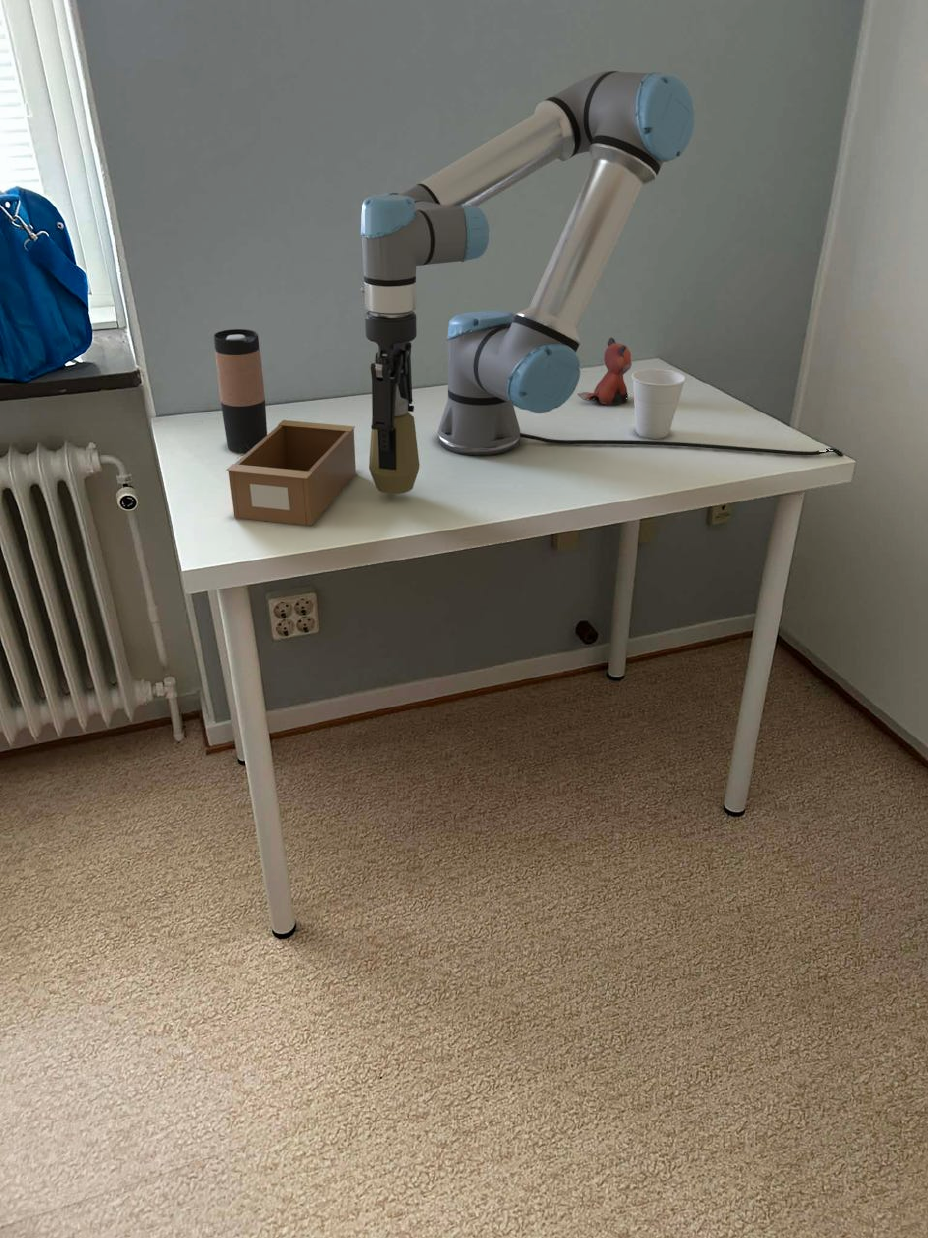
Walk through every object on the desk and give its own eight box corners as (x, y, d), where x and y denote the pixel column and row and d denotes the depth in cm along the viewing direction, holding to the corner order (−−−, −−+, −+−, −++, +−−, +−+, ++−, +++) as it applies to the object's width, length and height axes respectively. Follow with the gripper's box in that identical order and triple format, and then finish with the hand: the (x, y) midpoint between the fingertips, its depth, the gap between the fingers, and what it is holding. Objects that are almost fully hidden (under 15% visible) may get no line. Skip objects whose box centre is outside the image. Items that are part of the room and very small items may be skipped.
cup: (620, 438, 179) (625, 380, 174) (632, 421, 187) (638, 365, 181) (672, 446, 176) (680, 387, 170) (683, 429, 184) (691, 372, 178)
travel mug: (229, 438, 176) (216, 328, 166) (271, 438, 177) (260, 328, 167) (223, 454, 170) (209, 340, 160) (267, 453, 170) (256, 340, 160)
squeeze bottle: (413, 500, 150) (411, 387, 141) (363, 495, 152) (358, 383, 142) (425, 480, 157) (424, 372, 148) (377, 476, 158) (373, 368, 149)
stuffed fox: (569, 398, 199) (573, 340, 193) (615, 392, 203) (621, 335, 197) (588, 409, 193) (593, 350, 187) (635, 403, 197) (641, 344, 191)
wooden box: (357, 471, 164) (355, 426, 160) (310, 528, 145) (306, 478, 141) (287, 464, 166) (283, 419, 162) (232, 519, 147) (226, 469, 143)
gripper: (384, 295, 149) (388, 437, 161) (344, 325, 133) (352, 481, 144) (431, 298, 147) (432, 441, 159) (397, 329, 131) (400, 486, 143)
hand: (394, 459), depth 152 cm, fingers closed on squeeze bottle, 6 cm apart
